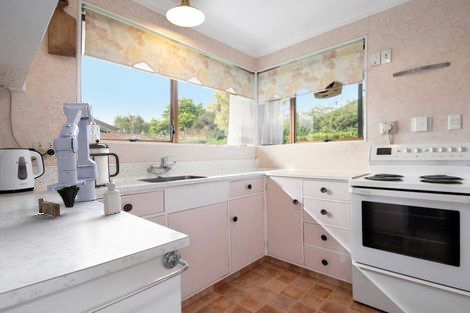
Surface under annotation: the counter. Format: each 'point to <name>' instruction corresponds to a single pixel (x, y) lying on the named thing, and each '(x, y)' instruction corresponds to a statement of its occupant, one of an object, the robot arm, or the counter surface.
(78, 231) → the counter surface
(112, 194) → the eye dropper bottle
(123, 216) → the counter surface
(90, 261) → the counter surface
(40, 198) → the gate post
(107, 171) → the coffee press
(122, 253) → the counter surface
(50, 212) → the gate
